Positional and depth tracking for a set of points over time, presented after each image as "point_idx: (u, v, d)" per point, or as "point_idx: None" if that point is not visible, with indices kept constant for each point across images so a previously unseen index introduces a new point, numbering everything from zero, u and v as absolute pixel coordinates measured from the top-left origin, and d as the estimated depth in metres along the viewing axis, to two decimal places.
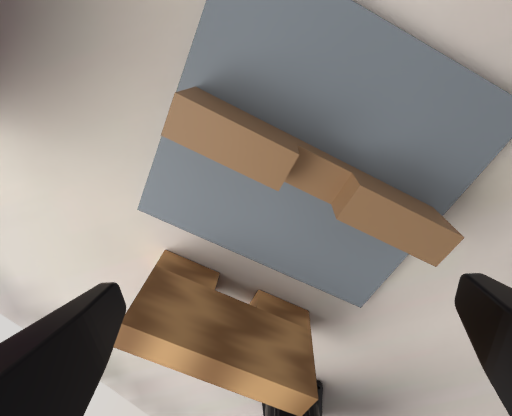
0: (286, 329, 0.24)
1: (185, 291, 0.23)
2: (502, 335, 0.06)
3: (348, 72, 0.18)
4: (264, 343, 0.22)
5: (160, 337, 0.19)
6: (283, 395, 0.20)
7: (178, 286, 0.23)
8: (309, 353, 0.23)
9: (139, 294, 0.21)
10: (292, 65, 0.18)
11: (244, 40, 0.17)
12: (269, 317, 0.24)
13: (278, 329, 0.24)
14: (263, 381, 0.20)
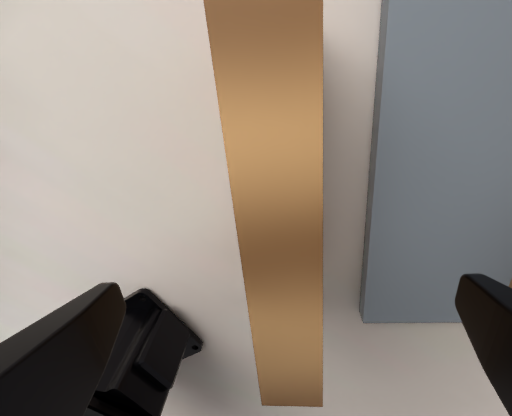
0: None
1: None
2: (502, 335, 0.06)
3: None
4: None
5: (322, 105, 0.07)
6: (297, 369, 0.11)
7: None
8: None
9: None
10: None
11: None
12: None
13: None
14: (312, 334, 0.10)
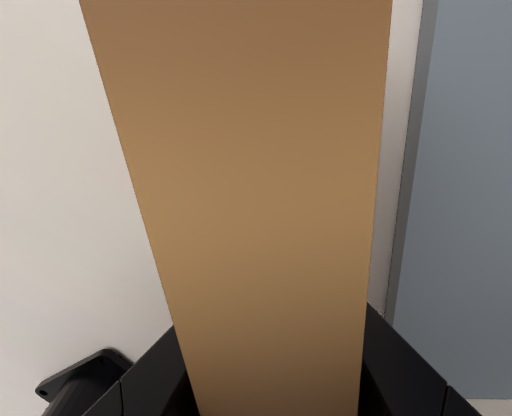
0: None
1: None
2: None
3: None
4: None
5: (374, 177, 0.03)
6: None
7: None
8: None
9: None
10: None
11: None
12: None
13: None
14: None
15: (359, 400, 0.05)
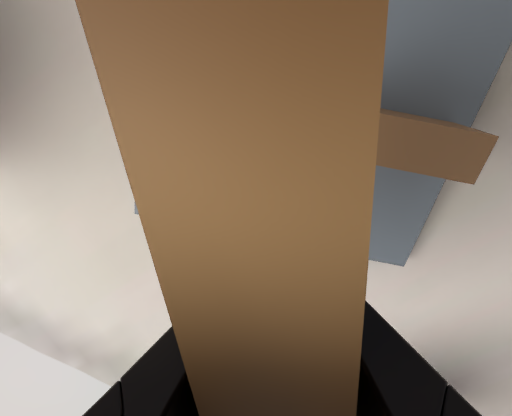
0: None
1: None
2: None
3: None
4: None
5: (373, 175, 0.03)
6: None
7: None
8: None
9: None
10: None
11: None
12: None
13: None
14: None
15: (359, 400, 0.05)
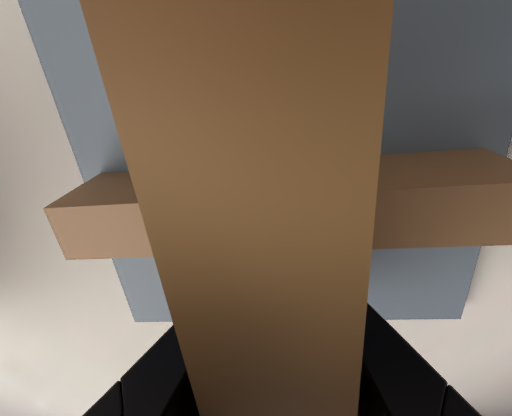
0: None
1: None
2: None
3: None
4: None
5: (376, 172, 0.03)
6: None
7: None
8: None
9: None
10: None
11: None
12: None
13: None
14: None
15: (359, 400, 0.05)
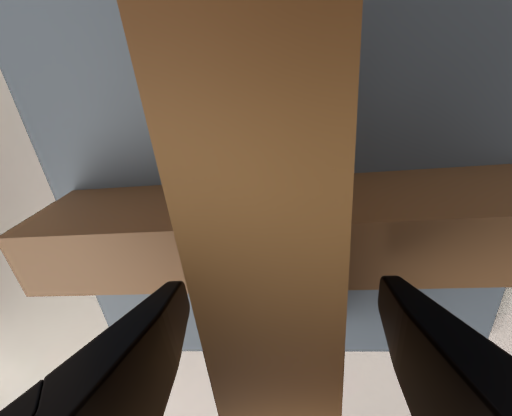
0: None
1: None
2: (402, 335, 0.06)
3: None
4: None
5: (353, 153, 0.04)
6: None
7: None
8: None
9: None
10: None
11: (81, 101, 0.11)
12: None
13: None
14: None
15: (443, 402, 0.05)
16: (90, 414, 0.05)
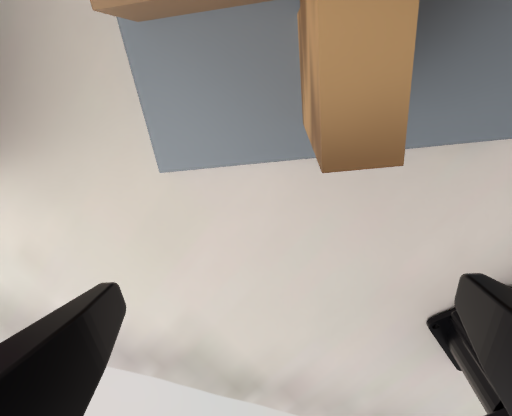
0: None
1: None
2: (502, 335, 0.06)
3: None
4: None
5: None
6: (376, 92, 0.08)
7: None
8: None
9: None
10: None
11: None
12: None
13: None
14: (403, 11, 0.07)
15: None
16: None
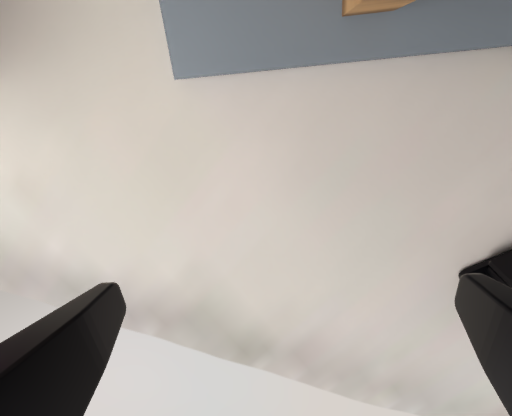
0: None
1: None
2: (502, 335, 0.06)
3: None
4: None
5: None
6: None
7: None
8: None
9: None
10: None
11: None
12: None
13: None
14: None
15: None
16: None
